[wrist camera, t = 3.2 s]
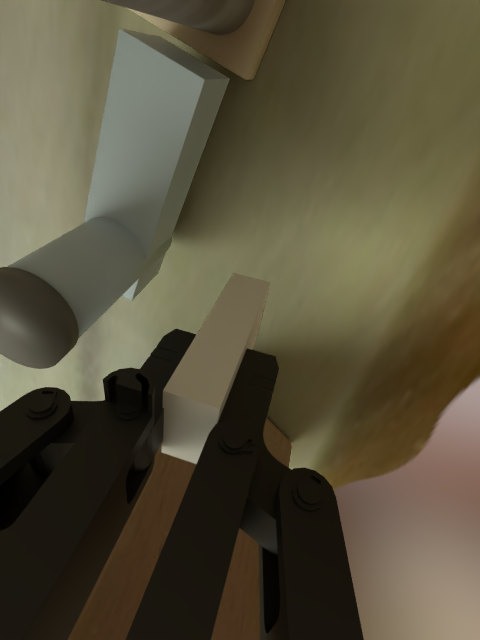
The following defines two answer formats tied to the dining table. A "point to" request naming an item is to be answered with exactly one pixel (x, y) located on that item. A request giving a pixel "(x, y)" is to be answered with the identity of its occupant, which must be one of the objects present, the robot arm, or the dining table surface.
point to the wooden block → (144, 550)
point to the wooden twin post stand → (216, 27)
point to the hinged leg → (116, 201)
